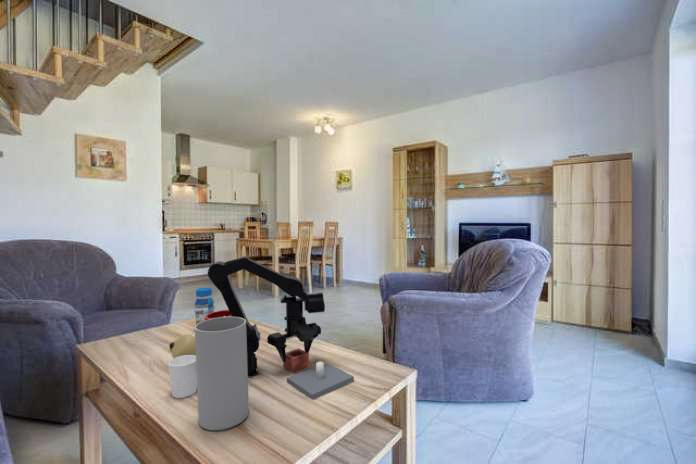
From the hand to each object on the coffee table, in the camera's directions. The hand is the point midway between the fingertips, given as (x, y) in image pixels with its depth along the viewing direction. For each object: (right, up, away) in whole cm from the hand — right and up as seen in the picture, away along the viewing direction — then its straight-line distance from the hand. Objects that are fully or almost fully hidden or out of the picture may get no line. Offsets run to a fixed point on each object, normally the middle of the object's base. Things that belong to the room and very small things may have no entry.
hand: (295, 358), depth 118 cm
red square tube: (0, -3, 0) cm, 3 cm away
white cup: (-31, -5, -15) cm, 35 cm away
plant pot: (-36, -3, +27) cm, 45 cm away
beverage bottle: (-48, -3, +40) cm, 63 cm away
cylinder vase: (-14, -5, -29) cm, 32 cm away
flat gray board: (+9, -4, -10) cm, 14 cm away
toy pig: (-41, -4, +6) cm, 41 cm away
